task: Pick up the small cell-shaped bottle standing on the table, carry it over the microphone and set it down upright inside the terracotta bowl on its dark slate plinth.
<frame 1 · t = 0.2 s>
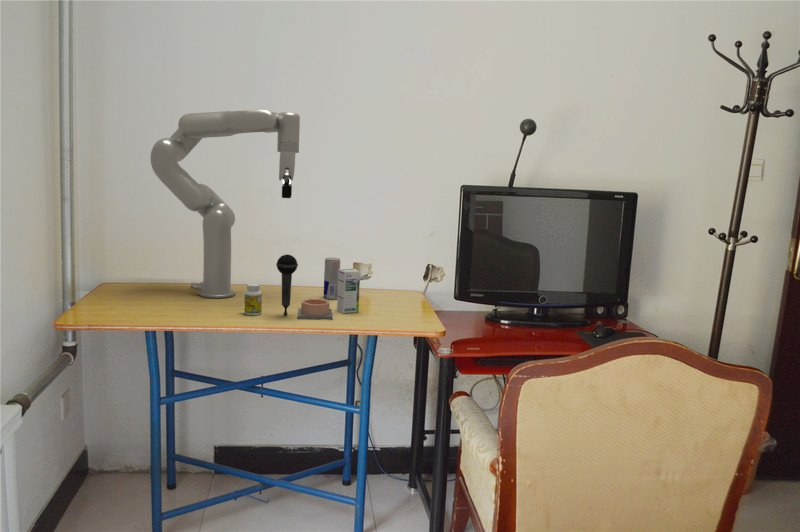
hand: (286, 197, 236), 36 cm above the table, tool pointing down, fingers open, 9 cm apart
microphone: (285, 316, 215), on the table
syrup box: (347, 311, 226), on the table
supplement bottle: (252, 314, 215), on the table
beverage can: (331, 298, 245), on the table
terracotta bowl: (315, 315, 217), on the table
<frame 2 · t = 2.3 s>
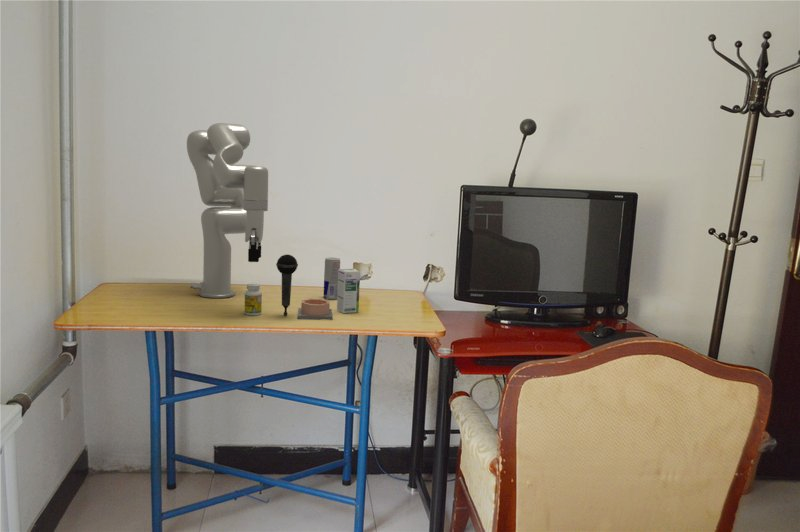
hand: (254, 259, 211), 18 cm above the table, tool pointing down, fingers open, 9 cm apart
nothing on the table moved.
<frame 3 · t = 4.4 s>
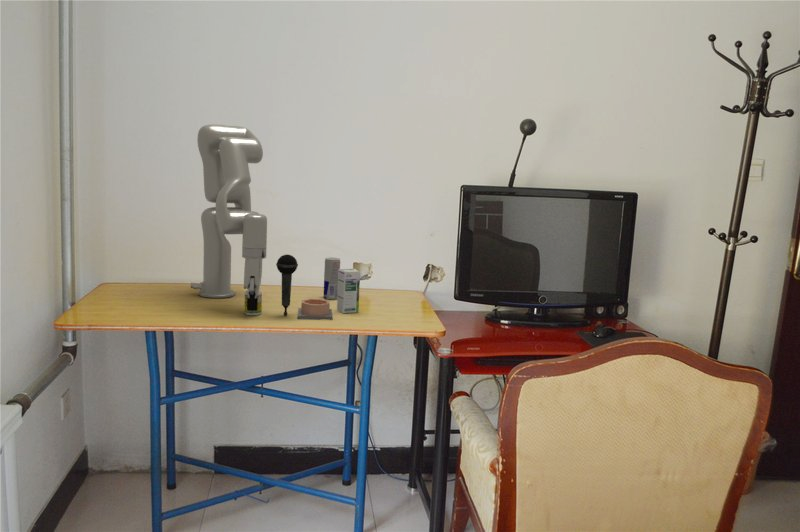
hand: (253, 307, 214), 2 cm above the table, tool pointing down, fingers closed on supplement bottle, 5 cm apart
supplement bottle: (252, 314, 215), on the table, touching gripper
everything else where it was.
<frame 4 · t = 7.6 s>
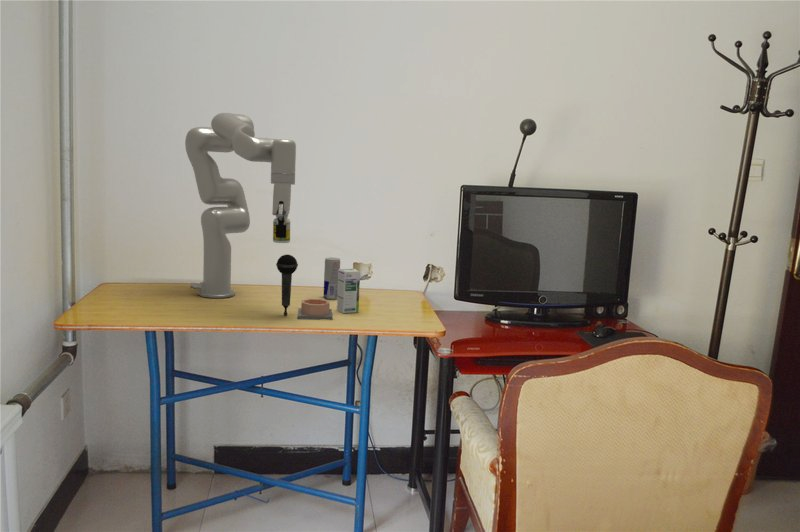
hand: (281, 235, 212), 26 cm above the table, tool pointing down, fingers closed on supplement bottle, 5 cm apart
supplement bottle: (281, 242, 212), point 24 cm above the table, touching gripper
everything else where it was.
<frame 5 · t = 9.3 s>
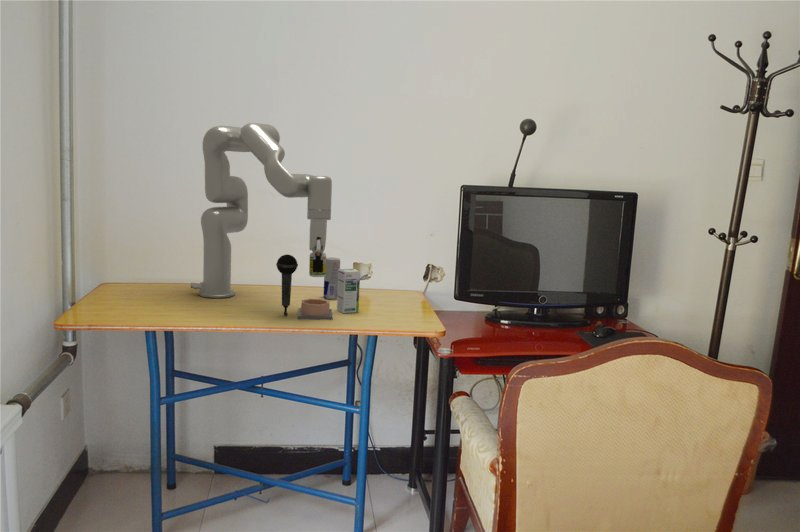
hand: (317, 270, 215), 15 cm above the table, tool pointing down, fingers closed on supplement bottle, 5 cm apart
supplement bottle: (317, 276, 215), point 13 cm above the table, touching gripper
everything else where it was.
when the fingers open (6 cm above the table, at t = 11.0 s): supplement bottle drops 2 cm, resting on terracotta bowl.
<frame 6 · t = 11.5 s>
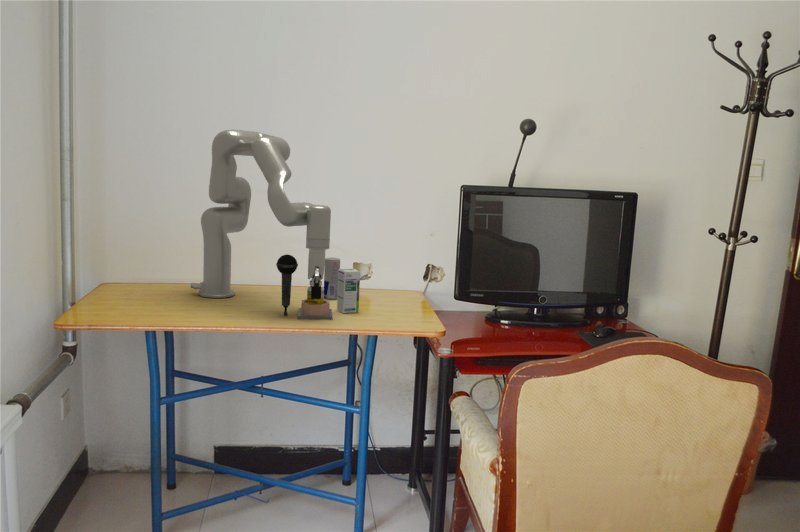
hand: (315, 295, 216), 7 cm above the table, tool pointing down, fingers open, 9 cm apart
supplement bottle: (314, 310, 217), point 2 cm above the table, touching terracotta bowl
everything else where it was.
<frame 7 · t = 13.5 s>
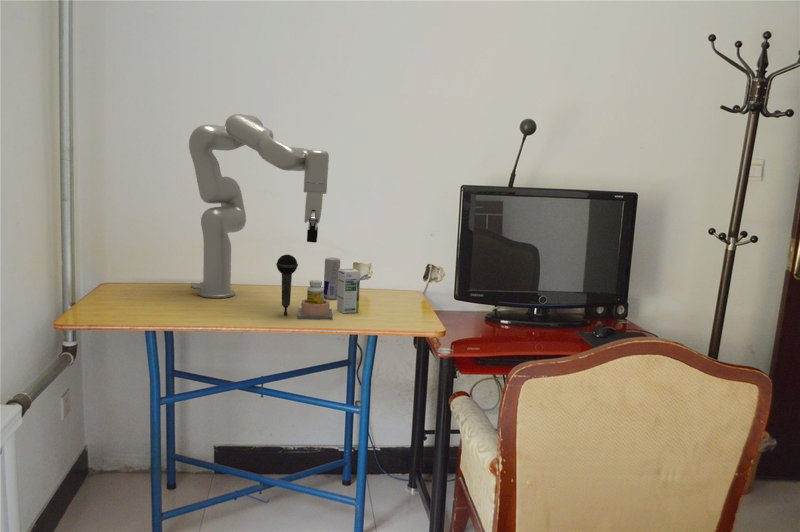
hand: (312, 240, 220), 24 cm above the table, tool pointing down, fingers open, 9 cm apart
nothing on the table moved.
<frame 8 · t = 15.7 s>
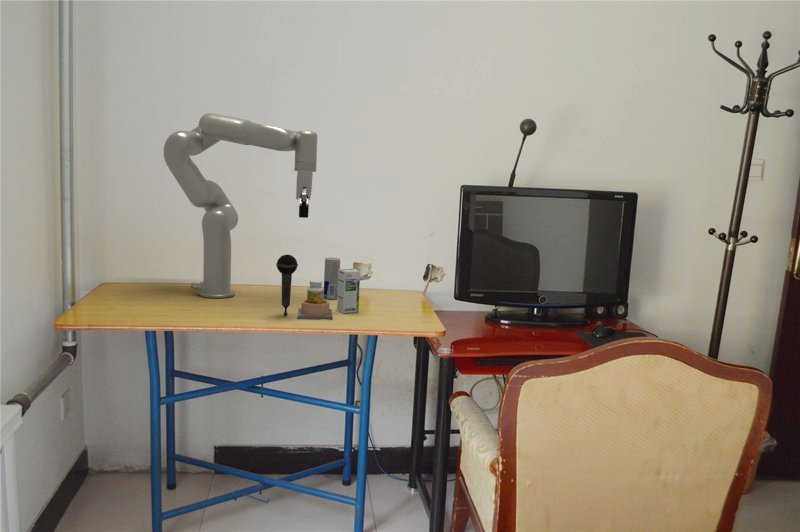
hand: (303, 216, 233), 30 cm above the table, tool pointing down, fingers open, 9 cm apart
nothing on the table moved.
at the end: supplement bottle 0.1 cm off-centre on the terracotta bowl, point 1.6 cm above the terracotta bowl's base; supplement bottle tilted 0°; the gripper is holding nothing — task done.
